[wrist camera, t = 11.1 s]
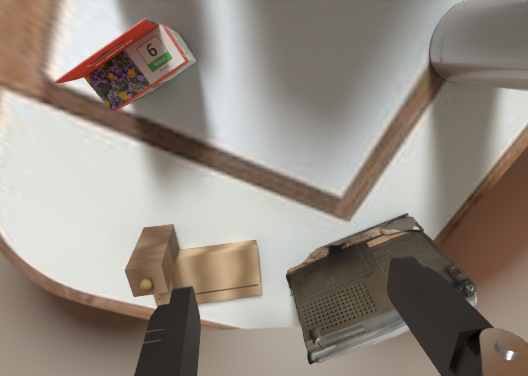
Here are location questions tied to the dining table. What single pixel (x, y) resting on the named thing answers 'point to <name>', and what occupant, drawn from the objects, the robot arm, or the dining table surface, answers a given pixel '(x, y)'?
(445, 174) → the dining table surface
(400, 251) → the radio
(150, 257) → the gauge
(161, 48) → the ink box
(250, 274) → the board
